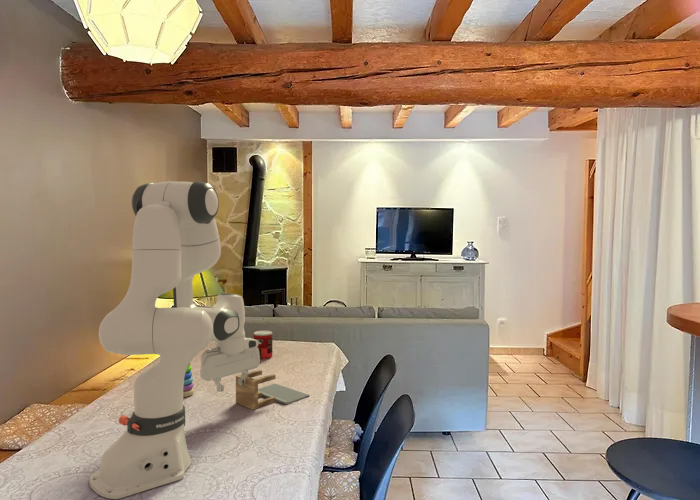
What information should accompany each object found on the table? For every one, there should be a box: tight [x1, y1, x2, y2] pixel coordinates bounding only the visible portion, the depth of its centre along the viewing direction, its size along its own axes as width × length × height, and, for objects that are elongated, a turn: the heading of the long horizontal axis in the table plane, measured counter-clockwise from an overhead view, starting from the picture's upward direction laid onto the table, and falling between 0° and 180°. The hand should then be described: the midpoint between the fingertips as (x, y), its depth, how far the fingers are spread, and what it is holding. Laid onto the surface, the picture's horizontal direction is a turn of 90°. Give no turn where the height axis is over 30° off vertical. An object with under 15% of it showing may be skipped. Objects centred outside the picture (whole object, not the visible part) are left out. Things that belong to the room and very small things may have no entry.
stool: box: [235, 369, 277, 410], centre depth 165 cm, size 10×9×9 cm
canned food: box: [253, 330, 273, 360], centre depth 218 cm, size 8×8×11 cm
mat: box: [258, 383, 311, 406], centre depth 173 cm, size 11×18×1 cm, turn 48°
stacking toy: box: [183, 361, 195, 398], centre depth 172 cm, size 8×8×19 cm
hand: (231, 387), depth 158 cm, fingers open, 7 cm apart
